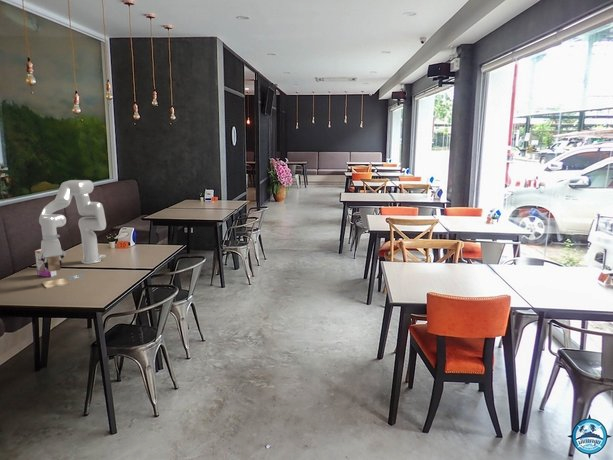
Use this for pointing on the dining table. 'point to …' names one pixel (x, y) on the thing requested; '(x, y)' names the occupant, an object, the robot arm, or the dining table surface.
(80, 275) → the tile
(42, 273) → the candy bar box
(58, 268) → the walnut block
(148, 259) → the dining table surface
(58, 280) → the cork pad
